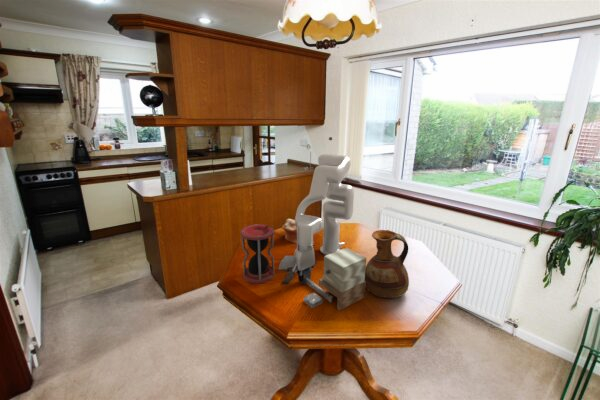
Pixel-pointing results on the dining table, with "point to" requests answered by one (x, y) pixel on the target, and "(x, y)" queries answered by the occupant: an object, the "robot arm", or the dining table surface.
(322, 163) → the robot arm
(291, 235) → the tan rock
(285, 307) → the dining table surface
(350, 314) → the dining table surface
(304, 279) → the hammer
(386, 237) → the ceramic pitcher
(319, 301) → the rectangular block
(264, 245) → the hourglass
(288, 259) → the cleaver
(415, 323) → the dining table surface
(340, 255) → the cabinet
